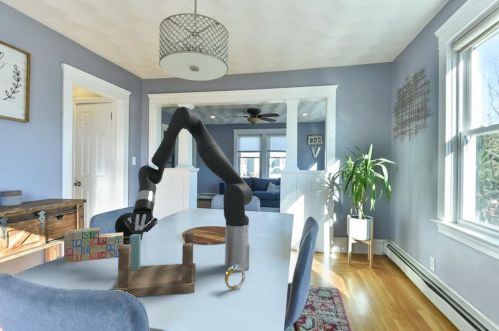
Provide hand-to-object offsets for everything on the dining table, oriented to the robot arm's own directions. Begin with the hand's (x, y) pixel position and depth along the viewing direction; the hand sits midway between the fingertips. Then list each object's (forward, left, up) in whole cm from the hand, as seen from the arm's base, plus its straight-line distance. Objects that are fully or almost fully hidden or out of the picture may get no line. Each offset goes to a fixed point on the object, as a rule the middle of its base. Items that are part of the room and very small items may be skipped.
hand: (137, 241), depth 96 cm
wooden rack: (-10, +10, -12) cm, 18 cm away
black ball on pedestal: (+13, -41, -12) cm, 45 cm away
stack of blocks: (+21, -19, -12) cm, 31 cm away
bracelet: (-35, +19, -12) cm, 41 cm away
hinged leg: (0, +3, -9) cm, 9 cm away
